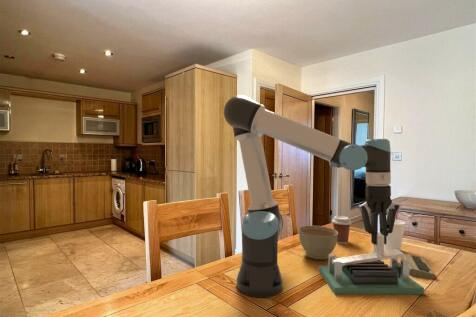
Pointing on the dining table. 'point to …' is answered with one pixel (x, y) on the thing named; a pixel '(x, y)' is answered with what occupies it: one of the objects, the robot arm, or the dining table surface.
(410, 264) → the computer
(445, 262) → the dining table surface
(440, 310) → the dining table surface
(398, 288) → the circuit board
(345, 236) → the coffee cup
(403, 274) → the heat sink mount
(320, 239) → the planter bowl
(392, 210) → the robot arm
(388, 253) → the steel strap
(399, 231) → the foam cup
